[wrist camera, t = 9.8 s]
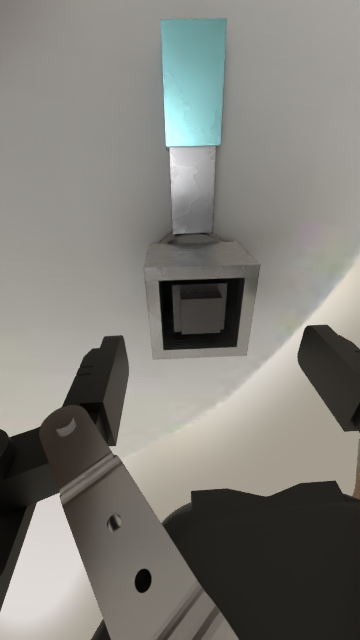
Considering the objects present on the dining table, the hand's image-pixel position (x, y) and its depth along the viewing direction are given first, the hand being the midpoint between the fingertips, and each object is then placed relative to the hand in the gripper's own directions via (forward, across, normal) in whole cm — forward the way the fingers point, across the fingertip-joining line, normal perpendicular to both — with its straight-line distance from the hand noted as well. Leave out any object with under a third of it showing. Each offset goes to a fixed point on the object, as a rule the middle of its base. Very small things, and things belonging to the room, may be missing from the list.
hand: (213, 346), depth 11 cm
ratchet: (+12, 0, -4) cm, 12 cm away
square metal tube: (+8, 0, 0) cm, 8 cm away
